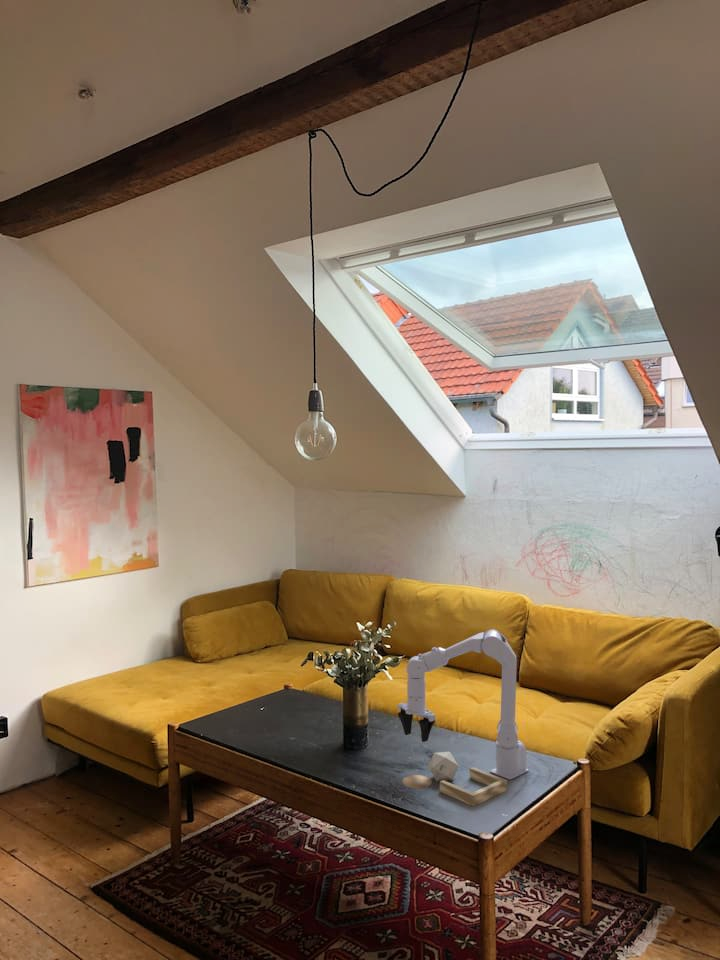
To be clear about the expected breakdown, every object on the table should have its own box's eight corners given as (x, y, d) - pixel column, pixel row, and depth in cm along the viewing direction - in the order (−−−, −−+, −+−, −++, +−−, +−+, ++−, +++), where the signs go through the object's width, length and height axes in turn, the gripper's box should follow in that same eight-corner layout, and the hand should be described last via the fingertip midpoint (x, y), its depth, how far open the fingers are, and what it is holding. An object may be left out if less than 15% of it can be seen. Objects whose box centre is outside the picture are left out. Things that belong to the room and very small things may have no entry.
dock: (473, 776, 240) (473, 767, 240) (507, 790, 230) (506, 780, 230) (439, 791, 230) (439, 781, 230) (473, 806, 220) (473, 795, 220)
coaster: (416, 774, 243) (416, 772, 243) (437, 783, 237) (437, 781, 237) (396, 782, 238) (396, 781, 238) (417, 792, 231) (417, 790, 231)
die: (423, 779, 240) (427, 762, 234) (434, 757, 246) (439, 740, 240) (447, 792, 238) (452, 775, 231) (458, 769, 244) (463, 753, 238)
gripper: (391, 692, 249) (391, 734, 250) (424, 703, 238) (423, 747, 239) (407, 687, 254) (406, 728, 254) (439, 698, 243) (439, 741, 244)
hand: (416, 737), depth 247 cm, fingers open, 7 cm apart
